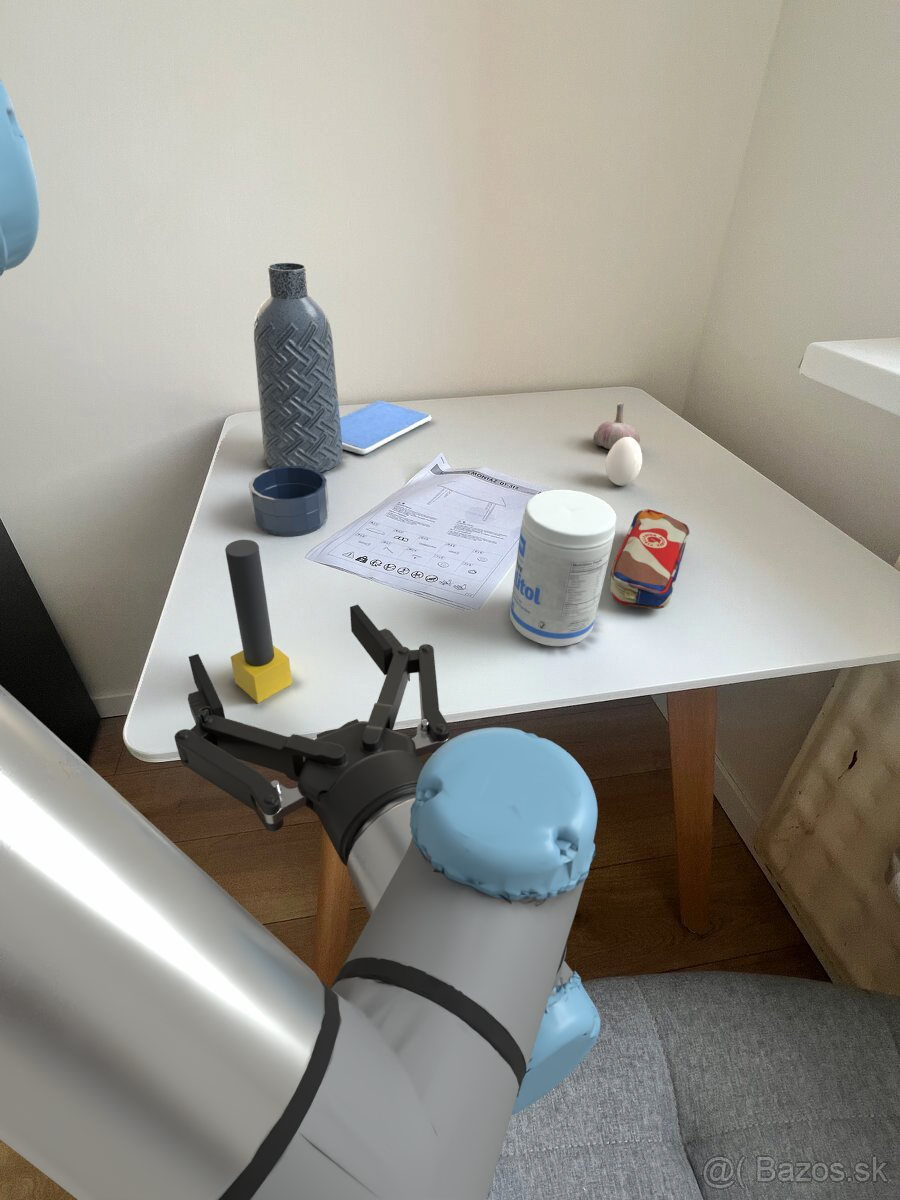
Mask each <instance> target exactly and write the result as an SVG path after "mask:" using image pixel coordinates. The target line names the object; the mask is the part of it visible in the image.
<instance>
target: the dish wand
mask: <svg viewBox="0 0 900 1200" xmlns="http://www.w3.org/2000/svg"><path fill="white" fill-rule="evenodd" d="M224 550H225V551H224V552H225V557H226V561H227V562H226V564H227V568H228V569H227V570H228V574H229V580H230V586H231V591H232V596H233V601H234V607H235V613H236V619H237V625H238V629H239V635H240V641H241V645H242V646H241V647H242V650H241V651H239V652H236V653H235V654H232V655H231V656H230V661H231V667H232V673H233V676H234V682H235V684H236V686H238V687H239V688H240V689H241V690H243V692H245V693H246V694H247V695H248V696H249V697H250V698H251V699H252V700H254V701H255V702H256V703H257V704H260V703H262V702H263V701H266V700H267V699H268V698H270V697H272V696H274V695H275V694H277V693H279V692H281V691H282V690H284V689H286V688H287V687H289V686H291V685H292V684H293V680H292V673H291V665H290V658H289V656H287V655H286V654H285V653H284V652H283V651H281V650H280V649H278V648H277V646H276V645H274V643H273V635H272V629H271V623H270V614H269V608H268V601H267V594H266V588H265V587H266V586H265V579H264V574H263V573H264V572H263V566H262V560H261V554H260V546H259V544H258V543H257V542H256V541H254V540H252V539H237V540H234V541H232V542H230V543H228V544H227V545H226V547H225V549H224Z"/></svg>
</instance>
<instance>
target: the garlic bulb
mask: <svg viewBox="0 0 900 1200" xmlns="http://www.w3.org/2000/svg"><path fill="white" fill-rule="evenodd" d="M615 416H616V417H615V420H611V421H604V422H602V423H601V424H600V425H599V426H597V429H596V431H595V432H594V434H593V436H592V437H593V443H594V444H595V445H596V446H598V447H603V448H605V449H607V450H609V451H610V450H611V448H612V446H613V445H614V444H615V443H616V442H617V441H618V440H620V439H621V438H624V437H631V438H633V439H634V440H636V441H637V443H638V444H639V445H640V441H641V437H640V434H639V433H638V431H637V429H636V428H635V427H634V426H633V425H629V424H628V423H626V422H624V402H623V401H620V402H618V403H617V405H616V415H615Z"/></svg>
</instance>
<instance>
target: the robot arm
mask: <svg viewBox="0 0 900 1200" xmlns="http://www.w3.org/2000/svg"><path fill="white" fill-rule="evenodd" d="M40 206H41V204H40V193H39V186H38V180H37V175H36V170H35V166H34V162H33V157H32V153H31V150H30V146H29V144H28V140H27V138H26V136H25V135H24V133H23V130H22V129H21V126H20V124H19V121H18V118H17V115H16V110H15V107H14V103H13V101H12V99H11V97H10V95H9V93H8V90H7V89H6V86H5V85H4V82H3V81H2V79H1V78H0V277H1V276H2V275H3V274H4V272H5V271H8V270H11V269H15V268H16V267H18V266H20V265H21V264H23V263H24V261H25V260H26V259H27V258H28V257H29V256H30V254H31V252H32V251H33V249H34V246H35V244H36V241H37V239H38V233H39V228H40V215H41V213H40V212H41V208H40ZM349 614H350V631H351V633H352V634H353V636H354V637H355V638H356V640H357V641H358V642H359V644H360V645H361V646H362V647H363V649H364V650H365V651H366V653H367V654H368V655H369V657H370V658H371V660H372V661H373V663H374V664H375V665H376V666H377V667H378V669H379V670H380V671H381V673H382V674H383V675H384V676H385V678H384V680H383V684H382V687H381V690H380V692H379V696H378V699H377V701H376V702H375V703H373V707H372V710H371V713H370V715H369V717H368V721H366V720H361V721H359V719H358V718H356V719H353V720H350V721H348V722H346V723H345V724H342V725H341V726H340V727H338V728H333V729H328V730H324V731H322V732H319V733H317V734H316V738H315V739H313V738H309V737H306V736H303V735H299V734H296V733H294V734H291V735H290V736H286V735H284V734H279V733H276V732H273V731H269V730H268V729H267V730H266V729H263V728H260V727H256V726H253V725H251V724H246V723H243V722H240V721H237V720H234V719H233V720H232V719H230V718H226V715H225V710H224V705H223V704H222V701H221V699H220V697H219V695H218V693H217V691H216V689H215V687H214V685H213V682H212V680H211V678H210V676H209V674H208V672H207V669H206V667H205V665H204V663H203V661H202V659H201V657H200V654H199V653H195V654H193V655H189V656H188V661H189V666H190V669H191V673H192V678H193V681H194V682H193V683H194V684H195V686H196V691H193V692H191V693H188V696H187V702H188V705H189V710H190V714H191V716H192V718H193V720H194V724H195V725H194V726H193V727H191V729H188V728H184V729H180V730H179V731H177V732H176V733H175V734H174V736H173V738H174V741H175V745H176V749H177V752H178V756H179V759H180V763H181V765H183V766H184V767H185V768H188V769H189V770H190V771H192V772H194V773H195V774H197V775H198V776H200V777H201V778H203V779H205V780H206V781H208V782H210V783H211V784H212V785H214V786H215V787H217V788H219V789H220V790H222V791H224V792H225V793H227V795H230V796H231V797H232V798H234V799H236V800H237V801H239V802H240V803H242V804H243V805H245V806H246V807H248V808H249V809H252V810H253V811H254V813H255V814H256V815H257V817H258V818H259V820H260V822H261V823H262V825H263V826H264V828H265V829H266V830H267V831H270V832H278V831H279V830H280V829H282V828H283V826H284V824H285V820H284V818H285V817H287V816H289V815H291V814H292V813H294V812H296V811H298V810H300V809H301V808H303V807H305V808H307V809H310V810H311V811H312V812H314V813H315V815H316V816H317V817H318V819H319V821H320V824H321V825H322V827H323V829H324V831H325V833H326V835H327V837H328V838H329V840H330V842H331V844H332V846H333V847H334V850H335V852H336V854H337V856H338V858H339V859H340V862H341V863H342V864H343V865H344V867H345V866H346V869H347V875H348V877H349V878H350V880H351V882H352V884H353V886H354V888H355V890H356V892H357V894H358V895H359V898H360V899H361V901H362V903H363V905H364V907H365V909H366V910H367V912H368V915H369V916H370V917H369V918H368V920H367V922H366V924H365V926H364V928H363V930H362V932H361V933H360V935H359V937H358V939H357V940H356V942H355V944H354V946H353V947H352V950H351V951H350V953H349V955H348V956H347V959H346V960H345V962H344V963H343V966H342V967H341V968H340V969H339V972H338V973H337V976H336V977H335V979H334V980H333V982H332V984H331V987H330V986H328V985H327V984H326V983H325V982H324V981H323V980H321V979H320V978H319V976H318V975H317V973H316V972H315V971H314V970H312V968H310V966H308V965H307V964H306V963H305V962H304V961H303V960H302V959H300V957H298V956H297V954H295V953H294V952H293V951H292V950H291V949H289V947H287V945H285V943H284V942H282V941H281V939H279V938H278V937H277V936H275V934H273V933H272V932H271V931H270V930H269V929H268V928H267V927H265V926H264V924H262V923H261V922H260V921H259V920H258V919H257V918H256V917H255V916H254V915H253V914H252V913H250V912H249V911H248V910H247V909H246V908H245V907H244V906H243V905H242V904H240V903H239V902H238V901H237V900H236V899H235V898H234V897H233V896H232V895H231V894H230V893H229V892H227V891H226V890H225V889H224V888H223V887H222V886H221V885H220V884H219V883H218V882H217V881H215V879H213V878H212V877H211V876H210V875H209V874H208V873H207V872H206V871H204V870H203V869H202V867H200V866H199V865H198V864H197V863H196V862H195V861H194V860H192V858H190V857H189V856H188V855H187V854H186V853H185V852H184V851H182V850H181V848H179V847H178V846H177V845H176V844H175V843H174V842H173V841H172V840H171V839H170V838H168V837H167V836H166V835H165V834H164V833H163V832H162V831H161V830H160V829H159V828H157V826H156V825H154V824H153V823H152V822H151V821H149V819H148V818H147V817H145V815H143V814H142V813H141V812H140V810H138V809H137V808H136V807H134V805H132V803H130V802H129V801H128V800H127V799H126V798H125V797H124V796H123V795H121V794H120V792H118V791H117V789H115V788H114V787H113V786H112V785H111V784H109V783H108V781H106V780H105V778H103V777H102V776H101V775H100V774H99V773H98V772H96V771H95V770H94V769H93V768H92V767H91V766H90V765H89V764H88V763H86V761H84V760H83V759H82V758H81V757H80V755H78V754H77V753H76V752H75V751H73V749H72V748H70V747H69V746H68V745H67V744H66V743H65V742H64V741H62V740H61V739H60V737H58V736H57V735H56V734H55V733H54V732H53V731H51V730H50V728H48V727H47V726H46V725H45V724H44V723H43V722H42V721H40V719H38V717H36V716H35V715H34V714H33V713H32V712H31V711H30V710H29V709H27V708H26V707H25V706H24V705H23V704H22V703H21V702H20V701H19V700H18V699H17V698H16V697H15V696H13V695H12V694H11V693H10V692H9V691H8V690H6V688H5V687H3V686H2V685H1V684H0V1141H1V1142H3V1143H4V1144H6V1145H7V1146H8V1147H9V1148H11V1149H12V1150H13V1151H14V1152H16V1153H17V1154H18V1155H20V1156H21V1157H22V1158H23V1159H25V1160H26V1161H27V1162H29V1163H30V1164H31V1165H33V1166H34V1167H35V1168H36V1169H38V1170H39V1171H40V1172H42V1173H43V1174H44V1175H45V1176H47V1177H48V1178H49V1179H50V1180H52V1181H53V1182H54V1183H56V1184H57V1185H58V1186H60V1187H61V1188H62V1189H63V1190H64V1191H66V1192H67V1193H69V1194H70V1196H72V1197H74V1198H75V1199H76V1200H487V1199H488V1196H489V1194H490V1189H491V1186H492V1182H493V1179H494V1176H495V1172H496V1170H497V1166H498V1162H499V1159H500V1155H501V1152H502V1149H503V1145H504V1141H505V1139H506V1135H507V1132H508V1128H509V1125H510V1122H511V1118H512V1116H514V1115H516V1114H518V1113H521V1112H522V1111H524V1110H525V1109H527V1108H529V1107H531V1106H532V1105H534V1104H535V1103H536V1102H538V1101H539V1100H540V1099H542V1098H544V1097H545V1096H546V1095H547V1094H548V1093H550V1092H551V1091H552V1090H554V1089H555V1088H556V1087H557V1086H558V1085H559V1084H561V1083H562V1082H563V1081H564V1080H565V1079H566V1078H568V1076H569V1075H570V1074H571V1073H572V1072H573V1071H574V1070H575V1069H576V1068H577V1067H579V1065H580V1064H581V1063H582V1062H583V1061H584V1060H585V1058H586V1057H587V1056H588V1054H589V1053H590V1052H591V1050H592V1049H593V1047H594V1045H595V1044H596V1042H597V1041H598V1037H599V1034H600V1030H601V1018H600V1014H599V1012H598V1008H597V1007H596V1005H595V1004H594V1002H593V1000H592V999H591V998H590V996H589V994H588V993H587V991H586V989H585V987H584V985H583V984H582V978H581V976H580V975H579V974H578V972H577V971H576V970H572V969H571V968H570V966H569V965H568V963H567V962H566V960H565V959H566V955H567V948H568V938H569V935H570V932H571V928H572V926H573V922H574V919H575V916H576V912H577V909H578V906H579V902H580V899H581V895H582V892H583V888H584V884H585V881H586V879H587V878H588V876H589V872H590V867H591V863H593V859H594V857H595V856H596V843H594V840H595V835H596V830H597V826H598V825H597V823H598V813H599V811H598V810H599V809H598V802H597V798H596V793H595V790H594V787H593V785H592V783H591V780H590V778H589V776H588V775H587V773H586V772H585V771H584V768H582V766H581V765H580V764H579V762H578V761H577V760H576V759H575V758H574V757H573V756H572V755H571V754H570V753H569V752H567V750H566V749H564V748H562V747H561V746H560V745H559V744H557V743H555V742H554V741H552V740H549V739H547V738H545V737H539V736H537V735H536V734H535V733H532V732H531V733H530V732H528V733H527V732H525V731H523V730H522V729H517V728H512V727H501V726H500V727H499V726H497V727H496V726H495V727H485V728H479V729H473V730H470V731H466V732H464V733H461V734H459V735H457V736H455V737H453V738H451V739H450V725H449V724H448V722H447V720H446V719H445V717H444V716H443V714H442V712H441V710H440V704H439V694H438V693H439V692H438V681H437V672H436V671H437V670H436V661H435V649H434V647H433V645H431V644H427V643H423V644H421V645H420V646H419V647H418V649H410V648H409V647H407V646H404V645H403V644H402V643H401V642H400V640H399V639H398V638H397V637H396V636H395V635H394V634H393V632H392V631H391V630H390V629H388V628H382V629H380V630H379V629H378V627H377V626H376V625H375V624H374V623H373V621H372V620H371V619H370V617H369V616H368V615H367V614H366V612H365V611H364V610H363V609H362V607H361V606H360V605H359V604H355V605H352V606H351V605H350V606H349ZM416 673H417V674H418V688H419V704H420V705H419V706H420V724H418V725H417V726H416V730H415V731H416V732H415V736H413V737H411V736H409V735H408V734H405V733H403V732H399V731H397V730H394V727H395V723H396V721H397V717H398V714H399V711H400V707H401V704H402V702H403V698H404V696H405V695H404V694H405V692H406V689H407V686H408V682H411V674H416ZM428 754H431V756H430V757H429V758H428V759H427V761H426V762H425V763H423V761H422V759H420V757H421V756H424V755H425V756H426V755H428ZM243 761H244V762H243ZM245 762H247V763H250V764H254V765H257V766H259V767H263V768H266V769H270V770H273V771H276V772H279V773H283V774H284V775H285V776H286V777H287V778H288V779H289V780H291V781H293V782H297V786H295V787H290V788H289V787H287V786H285V785H283V784H281V783H280V781H279V780H276V779H275V780H272V781H269V779H268V778H267V777H266V776H265V775H264V774H262V773H261V772H259V771H258V770H257V769H255V768H253V767H251V766H250V765H248V764H247V763H245Z"/></svg>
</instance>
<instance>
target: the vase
mask: <svg viewBox="0 0 900 1200" xmlns="http://www.w3.org/2000/svg"><path fill="white" fill-rule="evenodd" d="M267 275H268V285H269V296H268V297H267V298H266V299H265V300H264V301H263V302H262V303H261V305H260V306H259V307H258V309H257V312H256V313H255V318H254V324H253V325H254V327H253V343H254V344H253V345H254V356H255V367H256V377H257V378H256V379H257V389H258V401H259V402H258V403H259V413H260V425H261V435H262V447H263V454H264V459H265V461H266V464H267V465H268V466H269V467H270V469H271V468H276V467H283V466H302V467H307V468H311V469H315V470H317V471H318V472H320V473H323V472H327V471H329V470H331V469H333V468H335V467H336V466H338V465H339V464H340V463H341V461H342V458H343V453H344V452H343V450H344V449H342V436H341V426H340V418H341V416H340V405H339V395H338V384H337V374H336V363H335V353H334V352H335V351H334V340H333V334H332V329H331V324H330V320H329V318H328V316H327V313H326V312H325V310H324V308H323V306H322V305H321V304H319V302H317V300H315V299H314V298H313V297H311V296H310V294H309V284H308V272H307V267H306V265H305V264H301V263H295V262H277V263H272V264H269V265H267Z"/></svg>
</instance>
